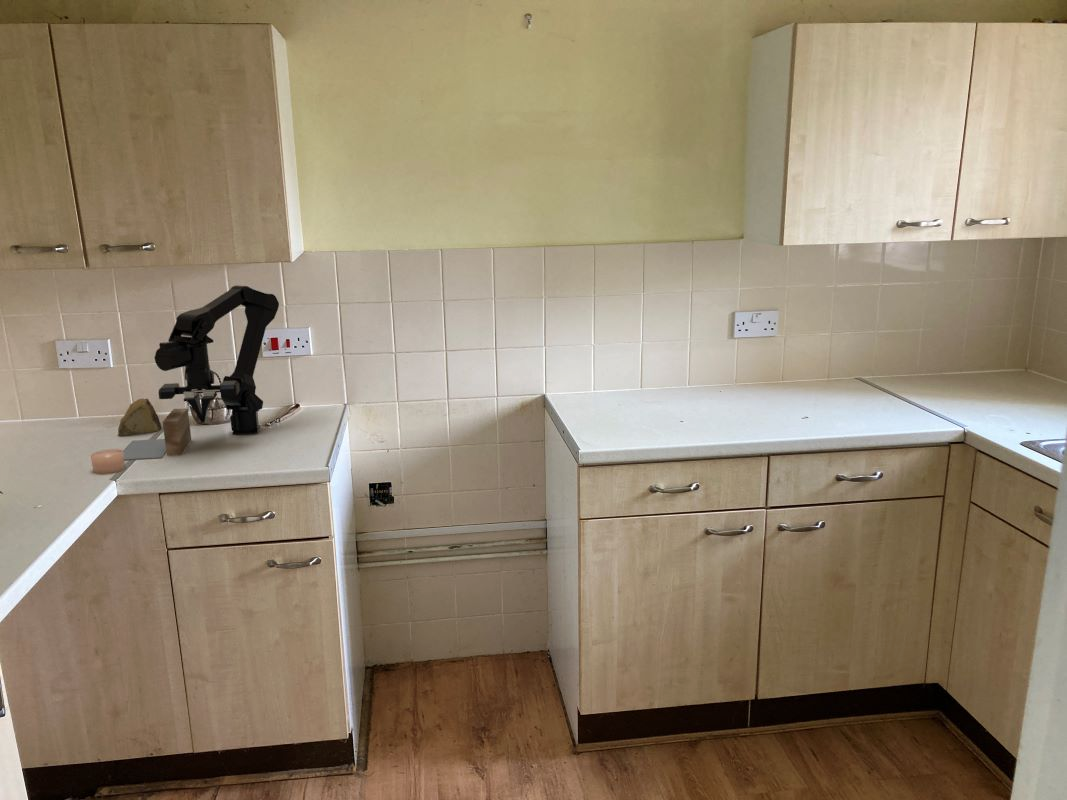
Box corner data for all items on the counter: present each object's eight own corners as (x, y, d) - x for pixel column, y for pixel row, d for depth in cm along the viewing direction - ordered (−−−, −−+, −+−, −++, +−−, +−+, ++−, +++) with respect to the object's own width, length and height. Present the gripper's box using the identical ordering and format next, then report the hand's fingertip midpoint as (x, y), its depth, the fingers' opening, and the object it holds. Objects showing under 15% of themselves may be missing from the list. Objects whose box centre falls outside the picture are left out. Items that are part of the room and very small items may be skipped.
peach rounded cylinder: (128, 463, 205) (126, 448, 204) (120, 473, 199) (118, 457, 198) (98, 465, 204) (96, 450, 203) (88, 475, 197) (86, 459, 196)
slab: (191, 440, 223) (187, 408, 220) (181, 455, 211) (177, 420, 209) (177, 441, 222) (173, 408, 220) (166, 455, 211) (162, 421, 208)
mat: (176, 439, 224) (176, 438, 224) (161, 458, 209) (161, 457, 209) (132, 441, 222) (132, 440, 222) (114, 461, 207) (114, 459, 207)
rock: (108, 431, 223) (145, 425, 223) (109, 402, 227) (146, 396, 227) (128, 444, 233) (164, 439, 233) (129, 416, 237) (165, 411, 237)
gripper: (240, 355, 221) (245, 411, 225) (165, 358, 218) (172, 415, 222) (233, 363, 211) (239, 423, 215) (154, 367, 208) (162, 427, 212)
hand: (203, 422), depth 216 cm, fingers closed
